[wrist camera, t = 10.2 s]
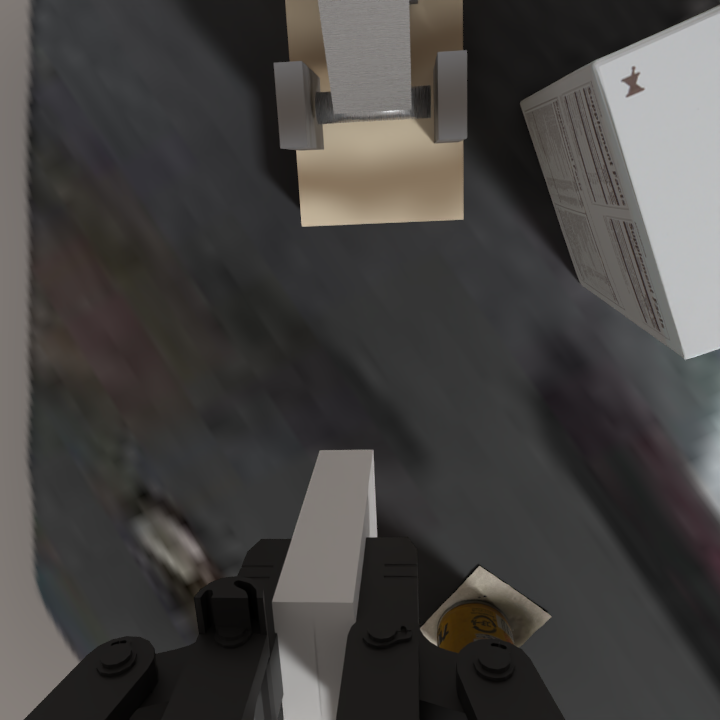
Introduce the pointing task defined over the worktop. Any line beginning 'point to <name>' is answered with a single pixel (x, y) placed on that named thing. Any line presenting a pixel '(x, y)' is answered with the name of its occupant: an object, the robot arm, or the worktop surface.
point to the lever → (368, 63)
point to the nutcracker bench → (377, 127)
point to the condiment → (483, 614)
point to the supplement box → (642, 178)
